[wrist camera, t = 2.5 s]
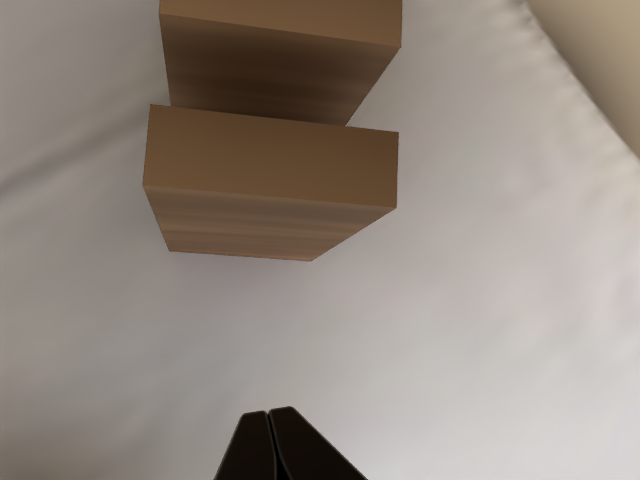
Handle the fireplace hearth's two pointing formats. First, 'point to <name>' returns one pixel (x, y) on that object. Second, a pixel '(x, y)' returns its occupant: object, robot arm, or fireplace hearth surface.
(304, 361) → the fireplace hearth surface
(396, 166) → the domino
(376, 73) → the domino
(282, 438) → the robot arm
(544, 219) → the fireplace hearth surface
